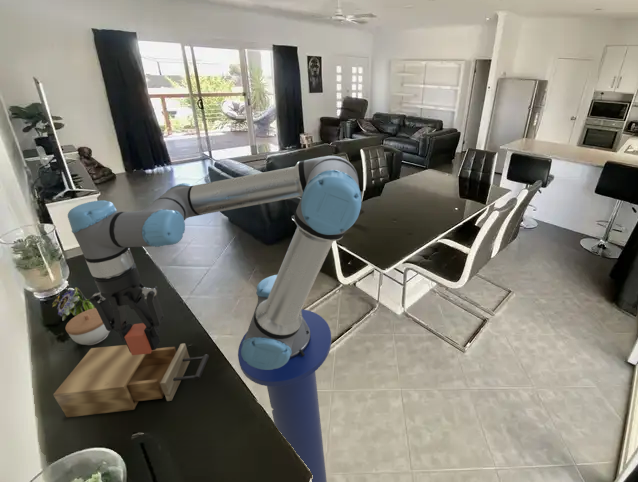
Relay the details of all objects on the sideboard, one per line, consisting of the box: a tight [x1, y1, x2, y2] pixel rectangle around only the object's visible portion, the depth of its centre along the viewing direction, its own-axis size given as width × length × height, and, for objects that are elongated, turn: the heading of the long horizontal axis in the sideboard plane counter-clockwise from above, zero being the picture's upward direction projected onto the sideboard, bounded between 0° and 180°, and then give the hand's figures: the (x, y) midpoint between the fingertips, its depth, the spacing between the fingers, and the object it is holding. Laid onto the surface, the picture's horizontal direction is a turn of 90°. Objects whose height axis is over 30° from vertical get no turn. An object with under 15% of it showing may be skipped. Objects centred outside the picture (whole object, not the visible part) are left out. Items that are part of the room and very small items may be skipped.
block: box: [125, 322, 152, 355], centre depth 79 cm, size 4×4×6 cm
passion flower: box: [51, 287, 95, 322], centre depth 112 cm, size 11×11×12 cm
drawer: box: [127, 342, 210, 402], centre depth 87 cm, size 21×12×7 cm, turn 97°
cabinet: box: [52, 344, 146, 418], centre depth 85 cm, size 16×14×9 cm
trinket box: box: [65, 307, 111, 346], centre depth 101 cm, size 11×11×9 cm
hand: (145, 346), depth 80 cm, fingers closed on block, 4 cm apart
